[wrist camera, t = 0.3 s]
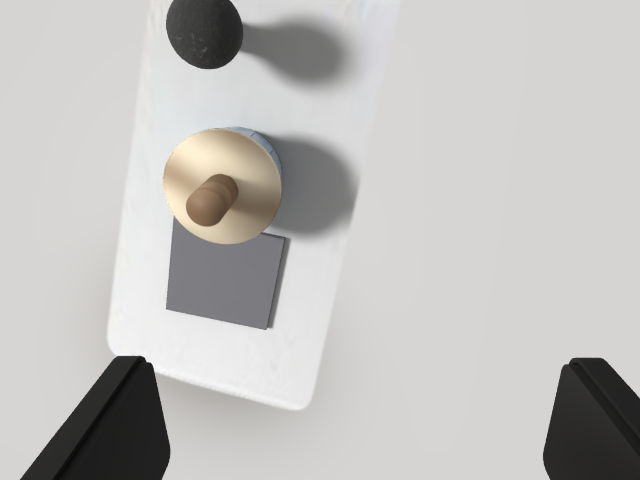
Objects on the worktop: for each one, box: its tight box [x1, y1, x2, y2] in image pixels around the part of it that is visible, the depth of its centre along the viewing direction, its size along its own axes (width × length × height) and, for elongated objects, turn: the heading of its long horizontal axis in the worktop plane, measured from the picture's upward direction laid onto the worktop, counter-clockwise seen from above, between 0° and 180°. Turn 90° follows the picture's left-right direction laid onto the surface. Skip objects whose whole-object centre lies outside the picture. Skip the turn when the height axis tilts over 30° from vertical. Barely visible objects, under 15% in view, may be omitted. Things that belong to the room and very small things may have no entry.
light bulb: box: [166, 0, 243, 69], centre depth 35 cm, size 6×6×10 cm
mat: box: [166, 216, 285, 330], centre depth 49 cm, size 12×12×1 cm
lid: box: [163, 128, 282, 244], centre depth 37 cm, size 10×10×6 cm
